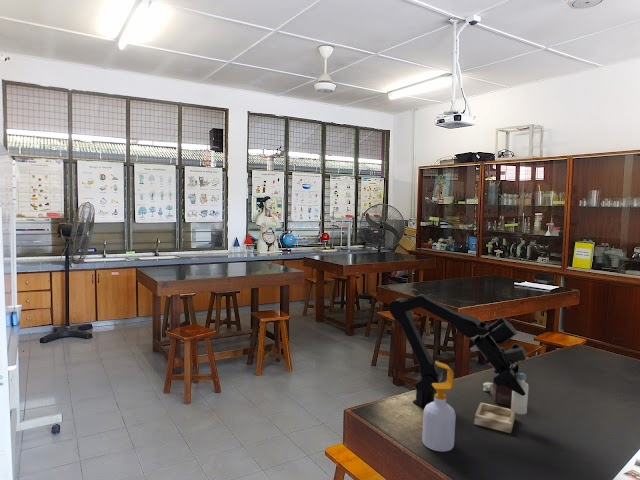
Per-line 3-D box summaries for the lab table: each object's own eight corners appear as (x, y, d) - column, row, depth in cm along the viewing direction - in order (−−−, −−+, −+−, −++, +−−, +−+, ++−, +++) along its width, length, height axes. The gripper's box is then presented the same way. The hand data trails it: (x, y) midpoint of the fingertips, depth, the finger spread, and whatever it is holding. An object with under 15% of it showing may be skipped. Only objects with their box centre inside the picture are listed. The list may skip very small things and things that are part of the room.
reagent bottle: (520, 415, 141) (522, 378, 140) (507, 409, 145) (510, 373, 144) (529, 412, 143) (532, 376, 142) (517, 406, 147) (520, 370, 146)
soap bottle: (418, 436, 137) (422, 357, 135) (447, 435, 138) (451, 357, 136) (427, 452, 128) (431, 369, 126) (458, 452, 129) (463, 368, 127)
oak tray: (474, 424, 146) (474, 415, 145) (480, 410, 155) (480, 402, 155) (510, 433, 140) (511, 424, 140) (514, 418, 150) (515, 410, 150)
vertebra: (491, 397, 166) (490, 387, 166) (478, 392, 173) (477, 382, 173) (505, 394, 169) (504, 384, 169) (491, 389, 175) (491, 379, 175)
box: (512, 405, 160) (514, 385, 159) (494, 403, 161) (496, 383, 161) (509, 398, 166) (510, 379, 165) (491, 396, 167) (493, 377, 167)
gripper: (508, 345, 136) (545, 389, 131) (514, 330, 152) (548, 369, 148) (478, 365, 140) (514, 408, 136) (488, 348, 156) (519, 386, 152)
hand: (525, 392), depth 143 cm, fingers closed on reagent bottle, 5 cm apart
